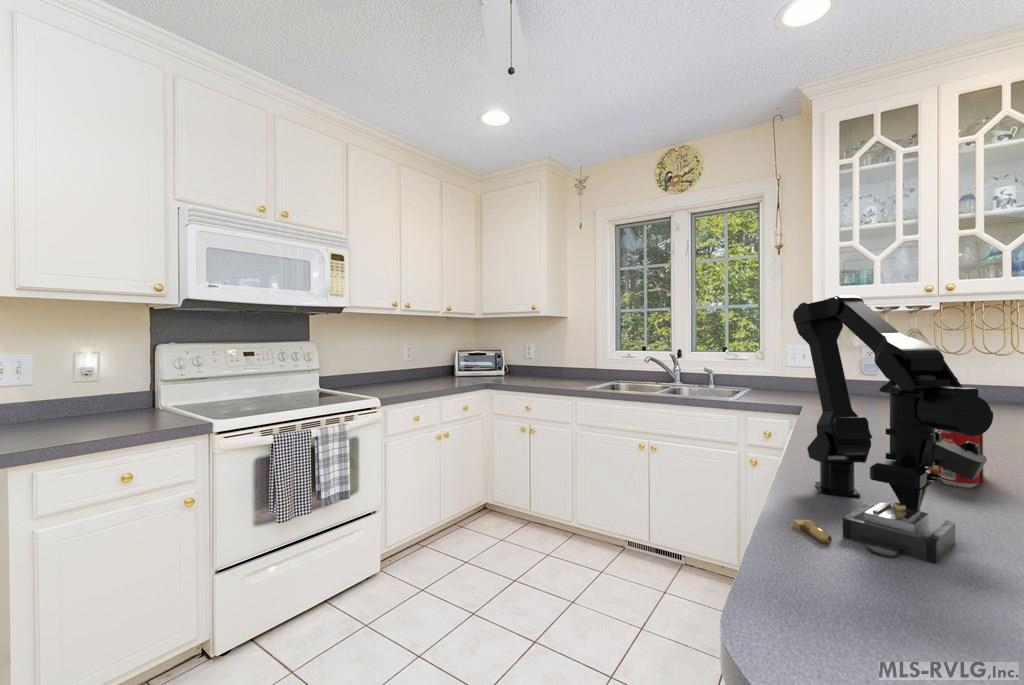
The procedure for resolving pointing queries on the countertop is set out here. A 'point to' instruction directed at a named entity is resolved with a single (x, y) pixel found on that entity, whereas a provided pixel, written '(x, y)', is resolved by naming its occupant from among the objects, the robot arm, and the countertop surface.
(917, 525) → the block
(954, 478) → the beverage can
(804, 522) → the gold elongated piece
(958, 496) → the countertop surface
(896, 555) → the bracket
